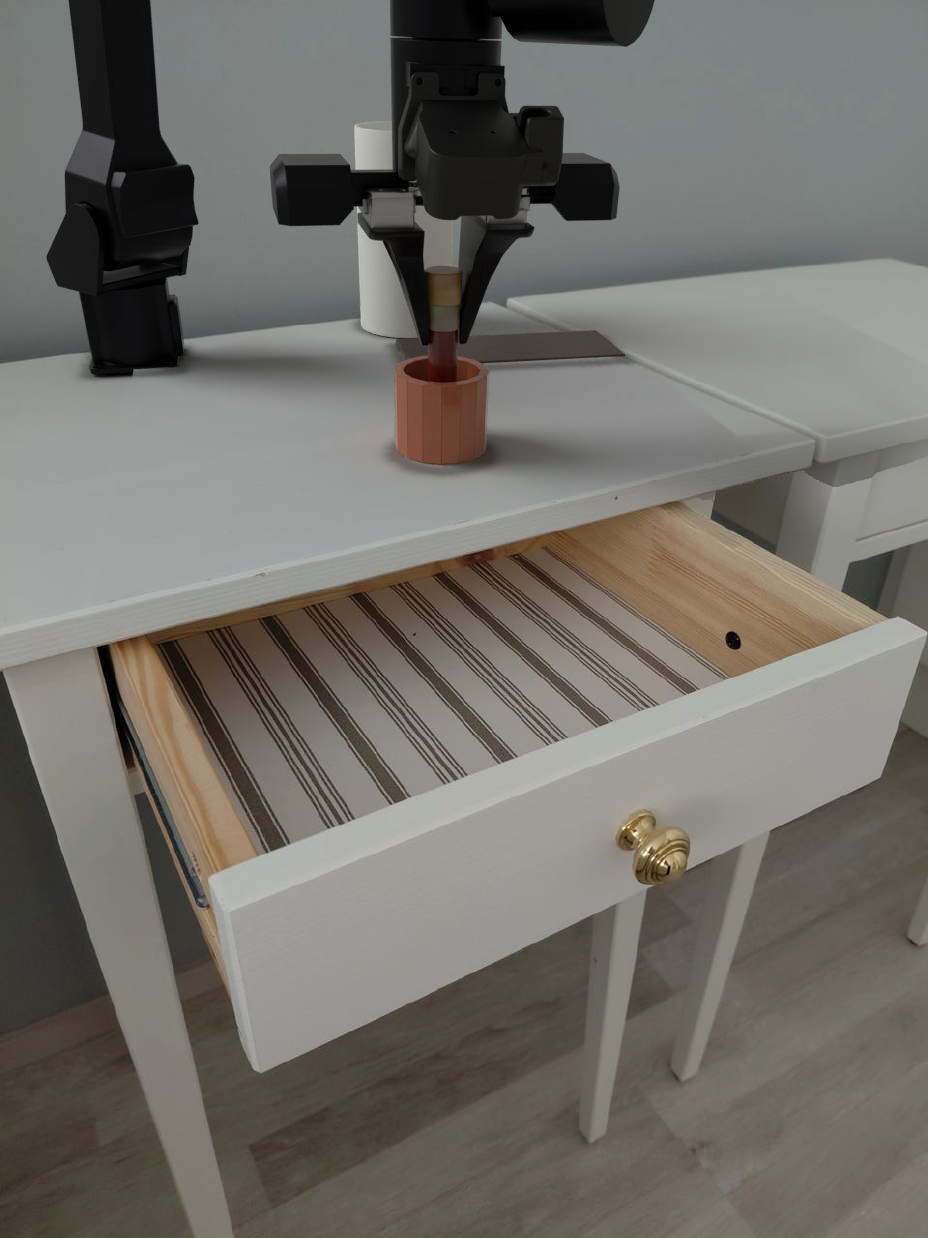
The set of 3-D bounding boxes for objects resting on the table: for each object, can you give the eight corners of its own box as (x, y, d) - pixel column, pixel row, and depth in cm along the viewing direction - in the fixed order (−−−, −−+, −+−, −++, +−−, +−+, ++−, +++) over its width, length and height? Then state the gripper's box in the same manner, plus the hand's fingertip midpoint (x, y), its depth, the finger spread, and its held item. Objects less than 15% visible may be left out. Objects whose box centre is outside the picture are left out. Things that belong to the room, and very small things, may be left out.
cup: (440, 341, 80) (443, 133, 71) (349, 333, 81) (340, 128, 73) (459, 316, 87) (464, 123, 78) (375, 309, 88) (370, 118, 79)
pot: (404, 474, 57) (403, 387, 54) (389, 438, 62) (387, 356, 59) (495, 467, 58) (499, 382, 55) (473, 433, 63) (476, 352, 60)
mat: (410, 372, 73) (410, 364, 73) (395, 345, 79) (395, 338, 79) (624, 361, 77) (625, 354, 77) (595, 336, 83) (596, 329, 82)
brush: (428, 445, 58) (428, 274, 53) (421, 432, 60) (421, 265, 54) (462, 442, 59) (466, 273, 53) (454, 429, 61) (457, 264, 55)
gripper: (270, 40, 39) (297, 398, 48) (680, 49, 43) (637, 379, 51) (257, 33, 48) (282, 335, 57) (597, 41, 52) (572, 322, 61)
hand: (442, 343), depth 56 cm, fingers closed on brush, 2 cm apart
